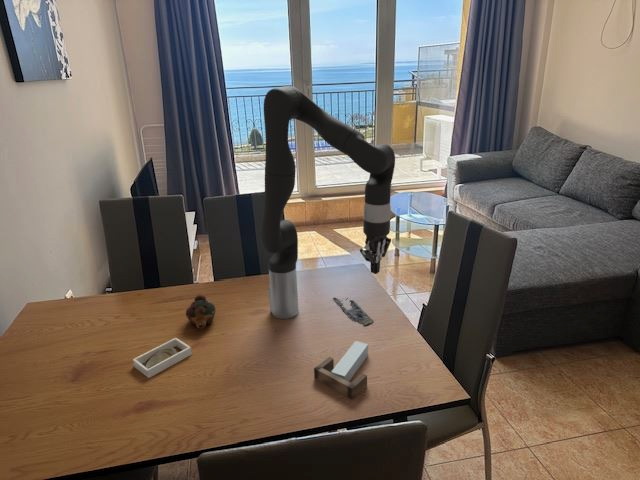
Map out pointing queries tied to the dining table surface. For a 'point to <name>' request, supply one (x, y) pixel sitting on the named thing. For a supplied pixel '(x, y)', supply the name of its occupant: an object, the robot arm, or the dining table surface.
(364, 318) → the grey flat forked piece
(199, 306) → the decorative turtle
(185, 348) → the shell dish
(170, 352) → the oyster shell
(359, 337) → the dining table surface
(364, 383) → the end cap
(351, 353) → the white rectangular bar
